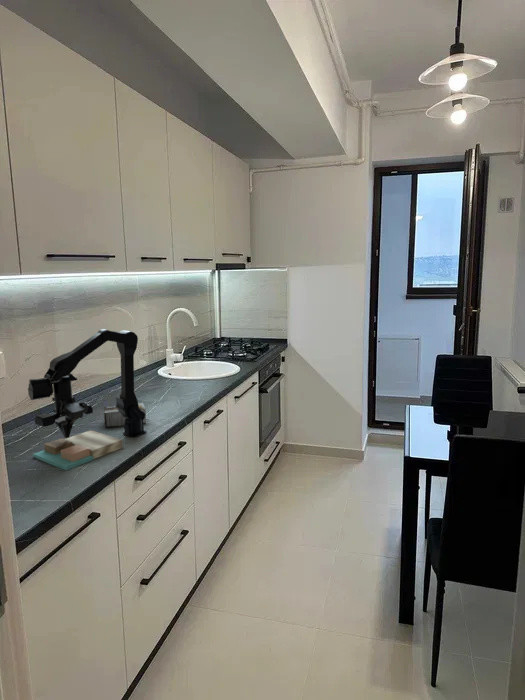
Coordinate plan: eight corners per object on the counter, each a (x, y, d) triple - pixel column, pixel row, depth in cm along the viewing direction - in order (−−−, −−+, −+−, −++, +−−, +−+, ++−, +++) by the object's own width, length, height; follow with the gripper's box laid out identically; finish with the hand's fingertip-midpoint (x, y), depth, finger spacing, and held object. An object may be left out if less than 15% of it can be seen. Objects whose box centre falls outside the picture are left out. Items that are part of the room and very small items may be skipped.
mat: (60, 447, 167) (60, 444, 167) (93, 459, 156) (92, 456, 156) (33, 457, 159) (33, 453, 159) (65, 470, 148) (65, 466, 148)
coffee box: (144, 416, 201) (104, 421, 196) (143, 402, 200) (103, 406, 194) (146, 423, 192) (104, 428, 187) (145, 408, 191) (103, 412, 186)
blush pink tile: (78, 451, 160) (78, 444, 160) (90, 455, 157) (89, 448, 156) (61, 457, 155) (60, 450, 155) (72, 461, 152) (71, 454, 151)
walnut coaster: (62, 444, 166) (61, 438, 166) (72, 448, 163) (72, 441, 162) (44, 450, 161) (44, 443, 161) (55, 454, 157) (54, 447, 157)
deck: (91, 437, 176) (91, 430, 176) (122, 447, 166) (122, 439, 166) (62, 447, 167) (61, 439, 166) (93, 459, 156) (92, 450, 156)
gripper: (50, 404, 149) (54, 451, 151) (100, 391, 164) (104, 434, 166) (31, 399, 155) (36, 444, 158) (81, 387, 170) (85, 428, 173)
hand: (66, 438), depth 164 cm, fingers closed
